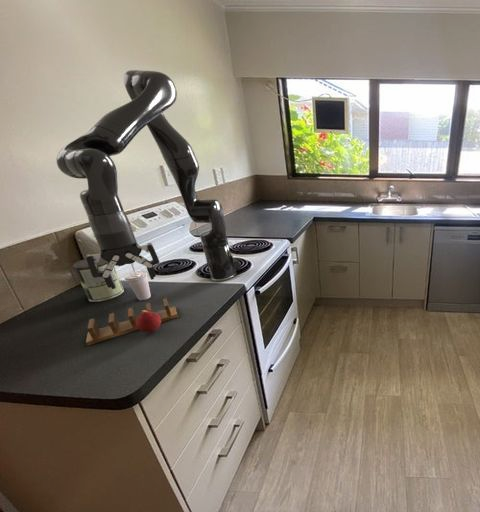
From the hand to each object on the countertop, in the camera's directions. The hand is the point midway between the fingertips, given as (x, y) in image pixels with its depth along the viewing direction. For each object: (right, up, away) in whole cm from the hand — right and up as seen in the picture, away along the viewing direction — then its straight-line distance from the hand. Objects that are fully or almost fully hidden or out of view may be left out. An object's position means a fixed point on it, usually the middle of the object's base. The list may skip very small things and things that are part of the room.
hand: (133, 283), depth 82 cm
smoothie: (-18, -8, +26) cm, 32 cm away
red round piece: (0, -16, +7) cm, 17 cm away
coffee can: (-34, -7, +28) cm, 45 cm away
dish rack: (-8, -15, +10) cm, 19 cm away
